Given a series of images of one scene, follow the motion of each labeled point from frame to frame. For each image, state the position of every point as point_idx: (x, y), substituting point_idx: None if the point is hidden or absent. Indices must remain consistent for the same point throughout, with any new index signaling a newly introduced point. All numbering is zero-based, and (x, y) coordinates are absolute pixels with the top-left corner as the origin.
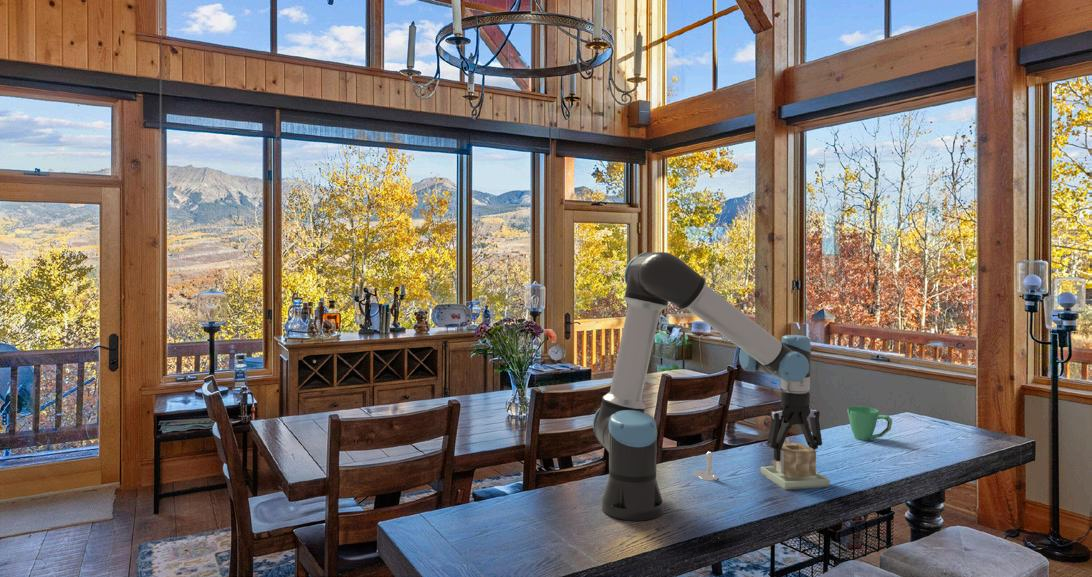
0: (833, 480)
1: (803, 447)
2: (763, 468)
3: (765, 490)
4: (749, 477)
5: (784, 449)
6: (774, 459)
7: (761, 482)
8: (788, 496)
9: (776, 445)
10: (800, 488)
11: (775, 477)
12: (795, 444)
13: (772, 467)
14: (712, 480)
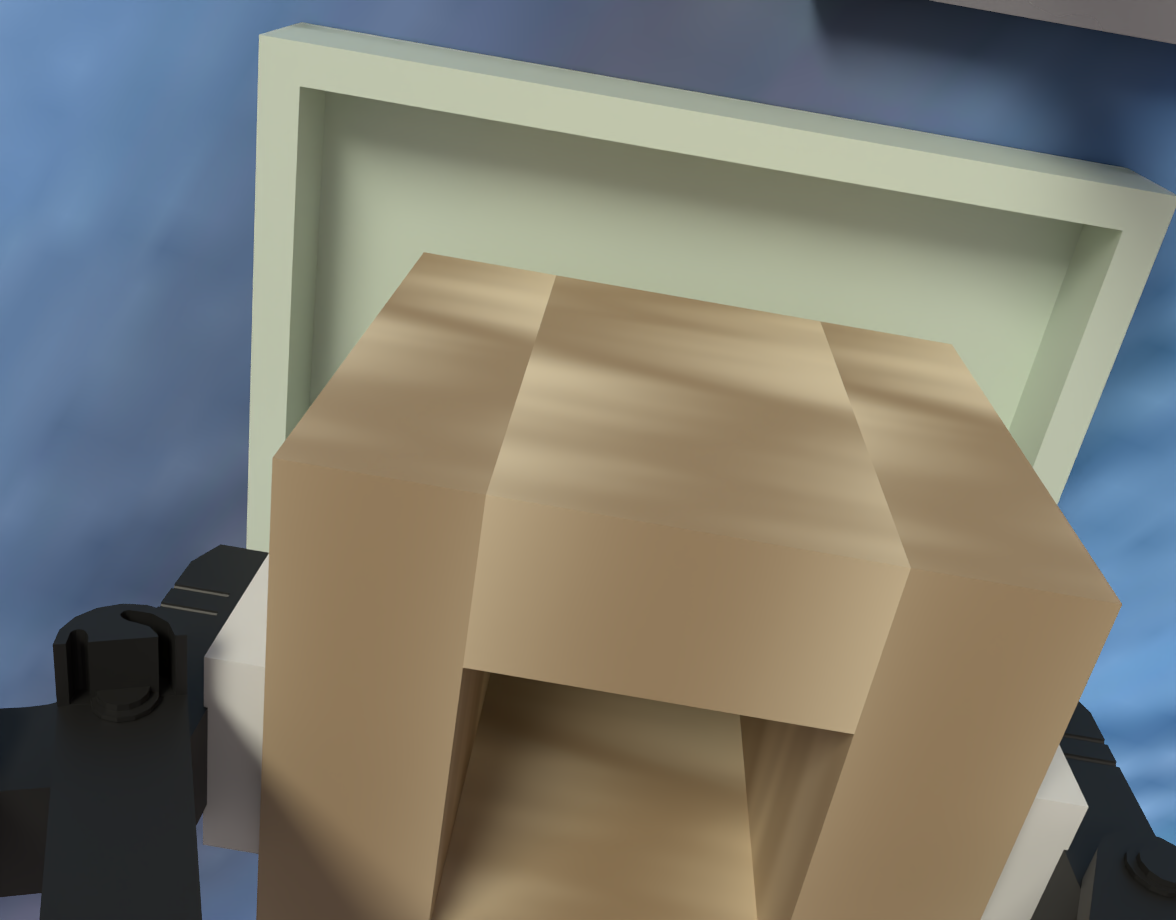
0: (1170, 651)
1: (826, 916)
2: (264, 136)
3: (21, 624)
4: (21, 116)
5: (272, 872)
6: (214, 553)
7: (109, 376)
8: (198, 835)
9: (41, 876)
10: None
11: (251, 529)
12: (850, 681)
13: (489, 119)
14: None
